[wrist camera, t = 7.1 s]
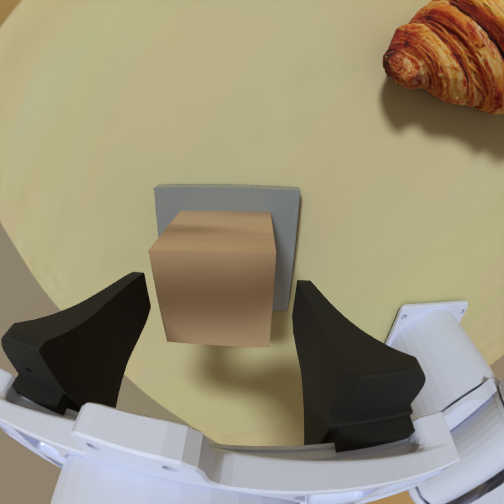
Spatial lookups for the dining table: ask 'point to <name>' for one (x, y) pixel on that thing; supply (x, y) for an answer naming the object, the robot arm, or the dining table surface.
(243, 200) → the slate coaster
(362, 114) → the dining table surface
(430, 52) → the croissant
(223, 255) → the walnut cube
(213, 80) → the dining table surface
